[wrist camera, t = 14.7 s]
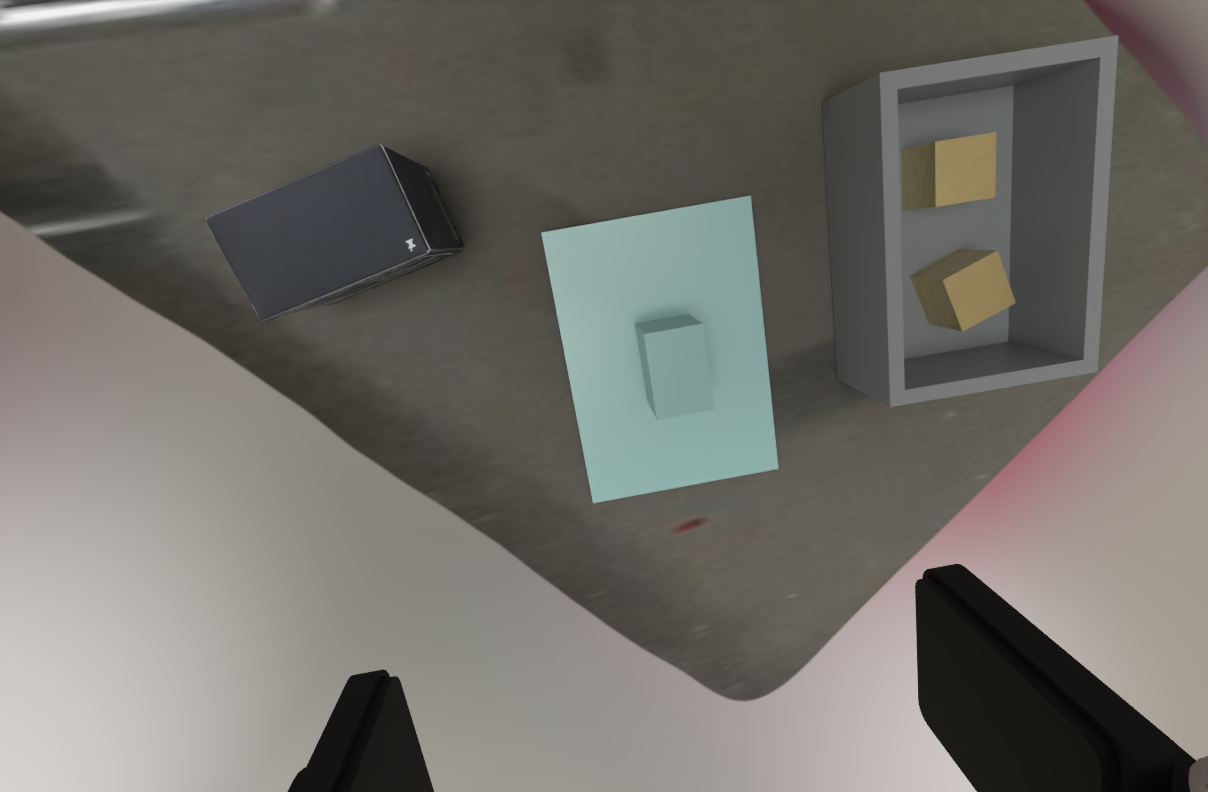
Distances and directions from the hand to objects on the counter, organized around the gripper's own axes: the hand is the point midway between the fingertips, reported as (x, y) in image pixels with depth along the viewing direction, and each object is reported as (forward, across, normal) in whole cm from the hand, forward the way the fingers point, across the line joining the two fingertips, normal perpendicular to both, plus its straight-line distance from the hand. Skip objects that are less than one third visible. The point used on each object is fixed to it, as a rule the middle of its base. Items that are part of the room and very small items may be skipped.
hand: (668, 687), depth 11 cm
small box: (+36, +13, -10) cm, 40 cm away
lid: (+37, -6, +2) cm, 37 cm away
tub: (+36, -26, -4) cm, 44 cm away
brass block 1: (+35, -26, -8) cm, 44 cm away
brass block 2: (+35, -27, +1) cm, 44 cm away
